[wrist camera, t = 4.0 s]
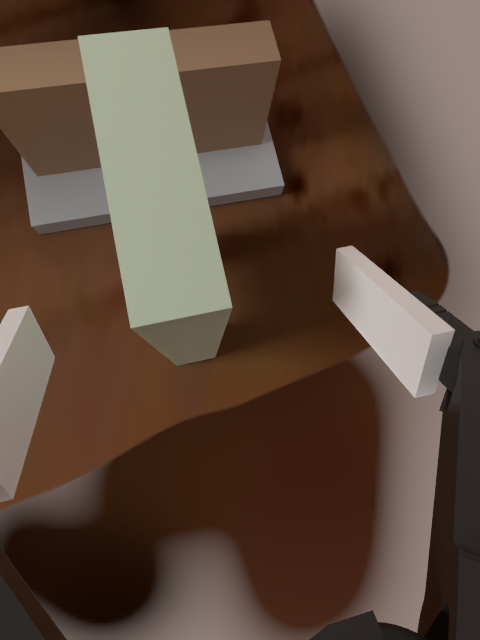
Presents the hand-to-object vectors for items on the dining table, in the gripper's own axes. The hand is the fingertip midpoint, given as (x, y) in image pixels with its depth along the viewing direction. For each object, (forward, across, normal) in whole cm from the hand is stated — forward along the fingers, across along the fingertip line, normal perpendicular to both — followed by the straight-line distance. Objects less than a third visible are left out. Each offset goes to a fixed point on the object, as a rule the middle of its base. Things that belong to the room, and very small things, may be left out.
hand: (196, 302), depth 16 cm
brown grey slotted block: (+21, -1, +2) cm, 21 cm away
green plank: (+12, -1, -7) cm, 13 cm away
